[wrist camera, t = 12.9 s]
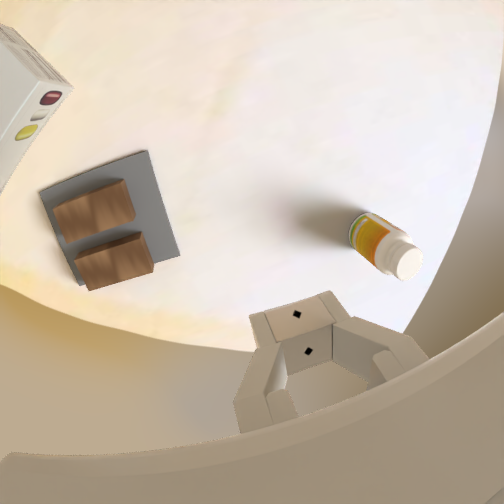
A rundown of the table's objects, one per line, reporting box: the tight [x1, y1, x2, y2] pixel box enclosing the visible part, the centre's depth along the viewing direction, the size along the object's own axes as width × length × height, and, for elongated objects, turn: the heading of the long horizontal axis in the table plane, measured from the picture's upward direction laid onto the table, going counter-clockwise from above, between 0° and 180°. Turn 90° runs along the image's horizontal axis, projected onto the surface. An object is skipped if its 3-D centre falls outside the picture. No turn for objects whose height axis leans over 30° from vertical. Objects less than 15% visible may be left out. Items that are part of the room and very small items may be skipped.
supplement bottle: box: [349, 213, 423, 281], centre depth 34 cm, size 5×5×10 cm
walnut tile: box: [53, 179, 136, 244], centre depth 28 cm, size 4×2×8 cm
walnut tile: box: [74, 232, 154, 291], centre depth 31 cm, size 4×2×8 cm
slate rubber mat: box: [40, 150, 180, 286], centre depth 30 cm, size 12×13×1 cm
